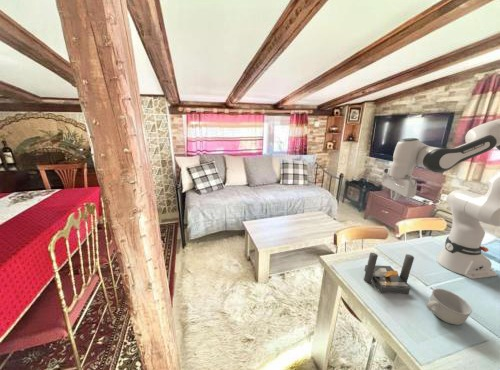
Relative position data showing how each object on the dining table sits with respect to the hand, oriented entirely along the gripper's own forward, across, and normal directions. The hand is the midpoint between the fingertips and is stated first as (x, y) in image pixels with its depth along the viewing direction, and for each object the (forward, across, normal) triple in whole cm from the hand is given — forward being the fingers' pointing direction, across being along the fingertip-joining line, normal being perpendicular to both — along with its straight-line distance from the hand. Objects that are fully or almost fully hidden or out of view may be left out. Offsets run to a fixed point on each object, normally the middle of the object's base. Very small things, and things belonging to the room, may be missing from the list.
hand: (394, 199), depth 100 cm
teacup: (+34, -35, -3) cm, 49 cm away
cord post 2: (+34, -18, 0) cm, 39 cm away
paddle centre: (+31, -18, +8) cm, 37 cm away
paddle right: (+31, -18, +12) cm, 38 cm away
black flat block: (+34, -18, +8) cm, 39 cm away
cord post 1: (+34, -18, +16) cm, 42 cm away
